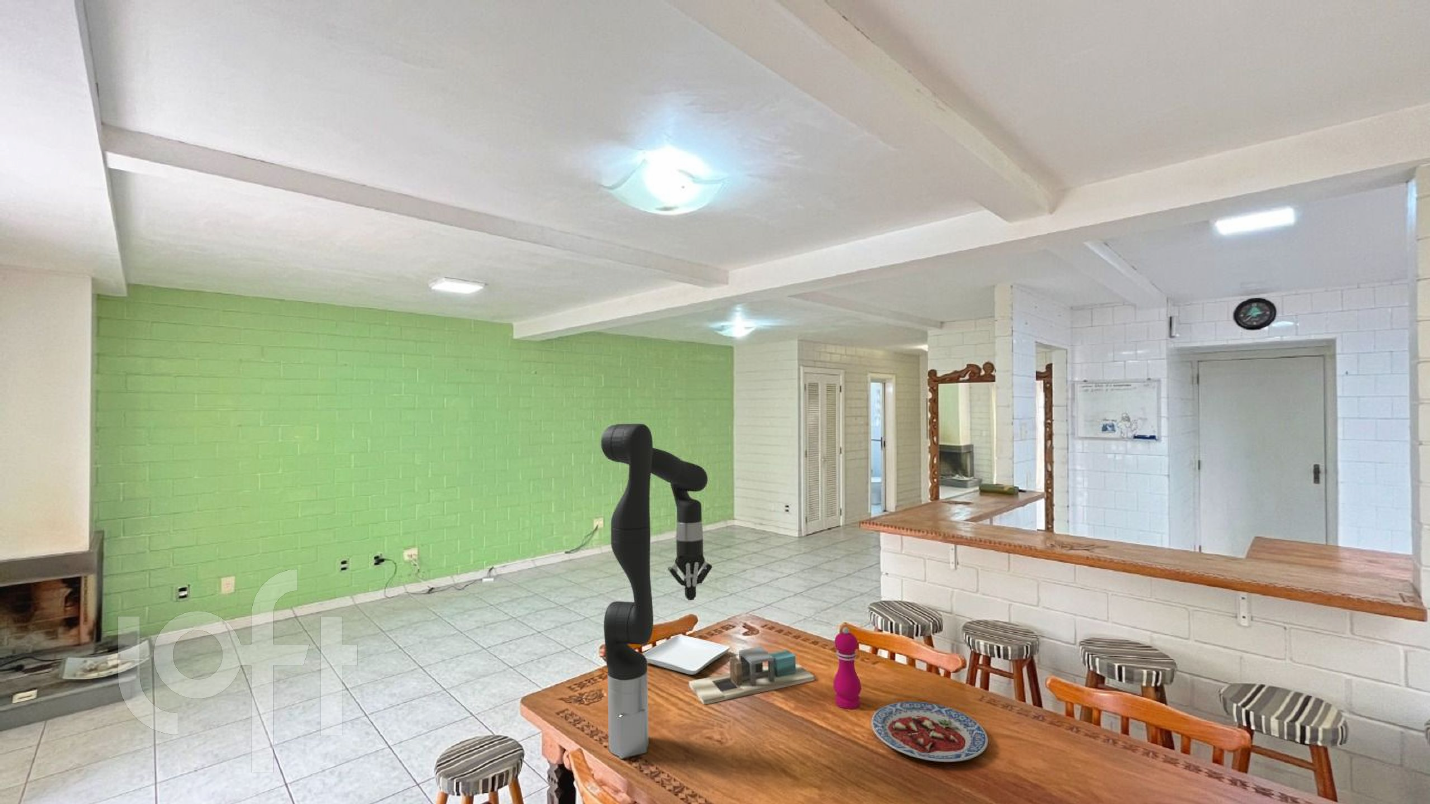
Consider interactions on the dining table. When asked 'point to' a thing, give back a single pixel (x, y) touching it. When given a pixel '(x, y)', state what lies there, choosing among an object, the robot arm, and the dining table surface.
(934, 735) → the ceramic plate
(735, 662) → the sled
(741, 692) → the deck tunnel
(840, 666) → the pepper mill
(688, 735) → the dining table surface
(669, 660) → the salad plate
